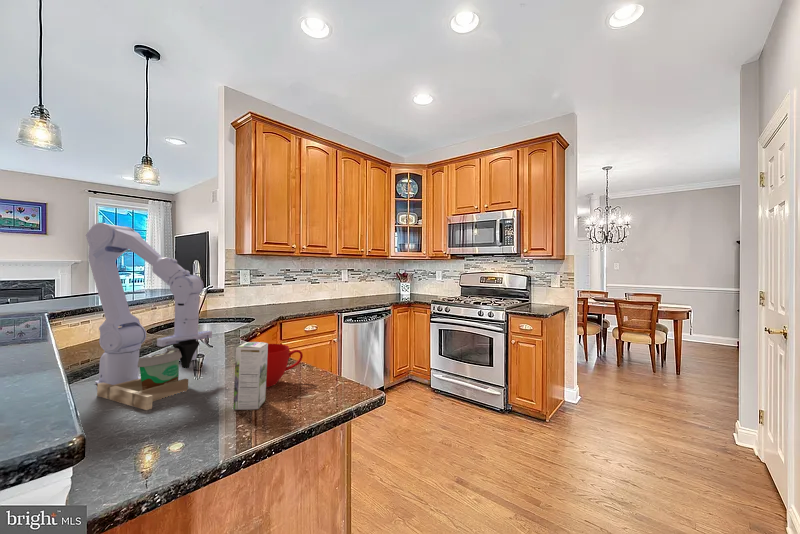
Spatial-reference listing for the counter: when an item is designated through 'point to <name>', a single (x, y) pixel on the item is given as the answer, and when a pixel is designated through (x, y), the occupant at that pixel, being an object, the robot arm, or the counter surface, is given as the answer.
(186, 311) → the robot arm
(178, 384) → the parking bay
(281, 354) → the ceramic cup
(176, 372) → the food container
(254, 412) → the counter surface
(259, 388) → the syrup box
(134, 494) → the counter surface
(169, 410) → the counter surface
